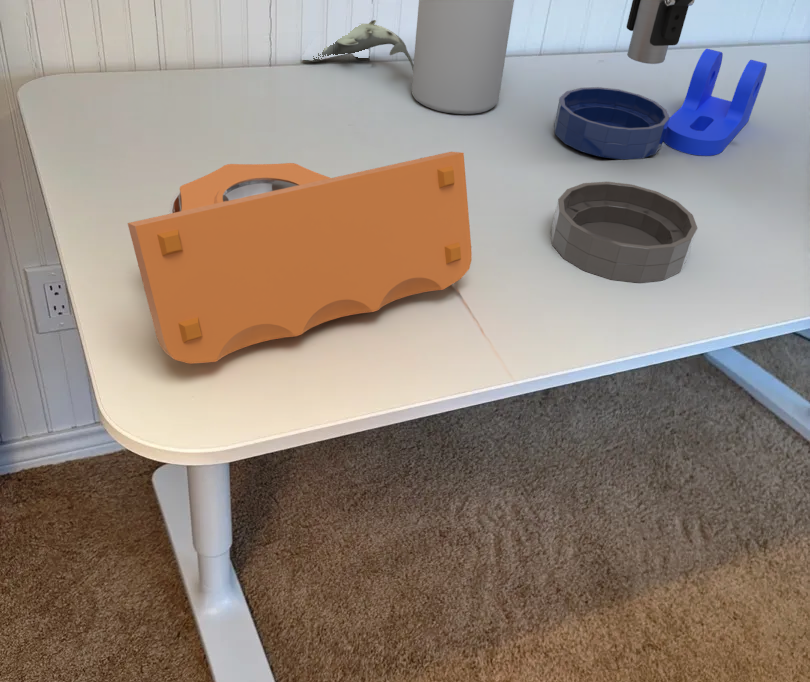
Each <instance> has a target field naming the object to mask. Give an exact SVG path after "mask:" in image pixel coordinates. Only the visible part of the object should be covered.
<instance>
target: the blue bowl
mask: <svg viewBox="0 0 810 682" xmlns="http://www.w3.org/2000/svg"><path fill="white" fill-rule="evenodd" d="M555 113H556V114H555V119H554V123H553V129H554V134H555V136H556V137H557V138H558V139H559V140H560V141H561V142H562V143H563V144H565V145H567V146H568V147H571V148H573V149H574V150H577V151H579V152H582V153H584V154H588V155H592V156H595V157H600V158H604V159H611V160H612V159H613V160H638V159H645V158H648V157H651V156H654V155H656V154H657V153H658V152H659V150H660V149H661V147H663V146H662V145H663V143H664V141H663V139H664V136H665V132H666V129H667V126H668V122H669V119H670V117H671V116H670V115H669V112H668V110H667V109H666V108H665V107H664V106H663V105H661V104H659V103H658V102H657V101H656V100H653V99H651V98H649V97H646V96H644V95H641V94H639V93H634V92H630V91H626V90H623V89H619V88H609V87H602V86H601V87H599V86H595V87H593V86H592V87H589V86H588V87H578V88H573V89H570V90H566V91H565V92H564V93H563V94H562V95H560V96H559V98H558V104H557V108H556V112H555Z"/></svg>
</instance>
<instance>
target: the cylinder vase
mask: <svg viewBox="0 0 810 682" xmlns="http://www.w3.org/2000/svg"><path fill="white" fill-rule="evenodd" d="M514 5H515V0H418V7H417V17H416V18H417V19H416V29H415V30H416V31H415V41H414V42H415V44H414V52H413V53H414V54H413V69H412V78H411V95H412V96H413V98H414V99H415V100H416V101H417V103H418V102H419V104H421V105H423V106H424V107H426V108H429V109H430V110H434V111H436V112H437V111H438V112H442V113H447V114H452V115H453V114H454V115H474V114H481V113H485V112H487V111H489V110H491V109H493V108H495V107H496V105H497V104H498V103H499V101H500V94H501V87H502V83H503V82H502V81H503V75H504V69H505V63H506V56H507V50H508V49H507V48H508V43H509V37H510V36H509V35H510V30H511V23H512V18H513V17H512V16H513V11H514Z"/></svg>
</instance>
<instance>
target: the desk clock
mask: <svg viewBox="0 0 810 682" xmlns="http://www.w3.org/2000/svg"><path fill="white" fill-rule="evenodd" d="M466 177H467V176H466V166H465V152H459V151H447V152H443V153H438V154H433V155H429V156H424V157H421V158H416V159H410V160H407V161H406V160H405V161H401V162H398V163H393V164H389V165H384V166H380V167H375V168H369V169H366V170H362V171H357V172H352V173H348V174H343V175H339V176H334V177H329V176H326V175H324V174H321V173H319V172H316V171H314V170H311V169H309V168H306V167H304V166H302V165H300V164H297V163H295V162H285V163H283V162H282V163H261V164H260V163H257V164H255V163H253V164H252V163H251V164H249V163H247V164H246V163H244V164H243V163H228V164H224V165H223V166H221V167H219V168H217V169H216V170H214V171H212V172H210V173H208V174H206V175H204V176H201V177H199V178H197V179H194V180H192V181H190V182H187V183H185V184H182V185H180V186H179V191H178V192H177V193H176V194H175V195H174V196H173V199H172V200H171V201H170V206H169V212H168V213H167V214H163V215H162V214H161V215H158V216H153V217H148V218H145V219H140V220H135V221H132V222H131V221H130V222H127V226H128V231H129V234H130V238H131V243H132V246H133V250H134V253H135V257H136V261H137V266H138V270H139V273H140V278H141V281H142V284H143V289H144V293H145V296H146V301H147V304H148V309H149V312H150V316H151V321H152V324H153V328H154V332H155V336H156V339H157V341H158V344H159V346H160V348H161V349H162V350H163V351H164V353H165V354H166V355H167V356H168V357H170V358H172V360H174V361H177V362H181V363H186V364H190V365H191V364H203V363H216V362H218V361H219V360H222V358H224V357H225V356H227V355H229V354H231V353H234V352H236V351H239V350H241V349H243V348H247V347H249V346H252V345H256V344H259V343H263V342H268V341H273V340H276V339H277V340H278V339H284V338H293V337H298V336H302V335H303V334H305V332H308V331H309V330H310V329H312V328H314V327H317V326H319V325H320V324H324V323H326V322H330V321H333V320H336V319H340V318H343V317H348V316H352V315H353V316H354V315H358V314H366V313H374V312H377V311H379V310H381V308H382V307H384V306H386V305H388V304H390V303H392V302H394V301H396V300H400V299H403V298H406V297H409V296H412V295H413V296H414V295H418V294H422V293H427V292H434V291H443V290H445V289H446V288H448V287H450V286H452V285H453V284H455V283H457V282H458V281H460V280H461V279H462V278H463V277H464V276H465V274H467V272H468V271H469V270H470V267H471V263H472V258H473V257H472V255H473V254H472V253H473V252H472V241H471V240H472V239H471V228H470V226H471V225H470V217H469V213H470V212H469V203H468V202H469V201H468V190H467V178H466Z"/></svg>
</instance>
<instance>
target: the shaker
mask: <svg viewBox="0 0 810 682" xmlns="http://www.w3.org/2000/svg"><path fill="white" fill-rule="evenodd" d="M660 3H665V0H641V1H640V5H639V9H638V13H637V17H636V21H635V25H634V29H633V31H632V33H631V38H630V41H629V45H628V49H627V54H626V55H627V57H628V58H629V59H631V60H633V61H634V62H638V63H641V64H647V65H659V64H662V63H664V62H665V60H666V56H667V52H668V49H669V46H653V45H652V44H650V38H651V34H652V30H653V26H654V23H655V19H656V15H657V11H658V7H659V4H660Z"/></svg>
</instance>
